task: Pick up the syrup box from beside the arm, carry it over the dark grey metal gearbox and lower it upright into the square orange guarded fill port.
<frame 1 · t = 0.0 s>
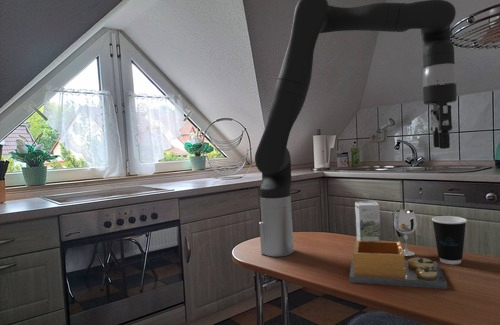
hand: (441, 147, 91), 29 cm above the table, fingers open, 8 cm apart
dixie cup: (450, 261, 91), on the table
wineglass: (406, 254, 99), on the table
syrup box: (368, 252, 103), on the table
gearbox: (394, 274, 85), on the table
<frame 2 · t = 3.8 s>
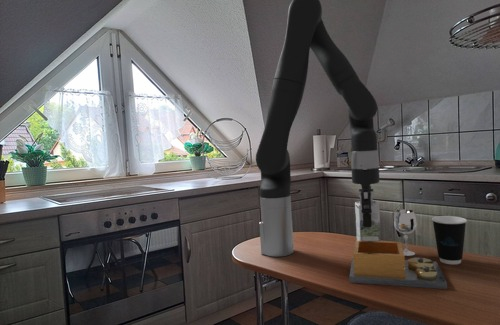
hand: (367, 223, 102), 8 cm above the table, fingers closed on syrup box, 6 cm apart
syrup box: (368, 252, 103), on the table, touching gripper
everything else where it was.
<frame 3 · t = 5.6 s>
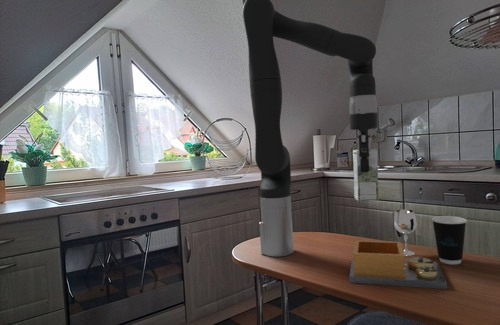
hand: (365, 171, 102), 24 cm above the table, fingers closed on syrup box, 6 cm apart
syrup box: (366, 200, 102), point 15 cm above the table, touching gripper
everything else where it was.
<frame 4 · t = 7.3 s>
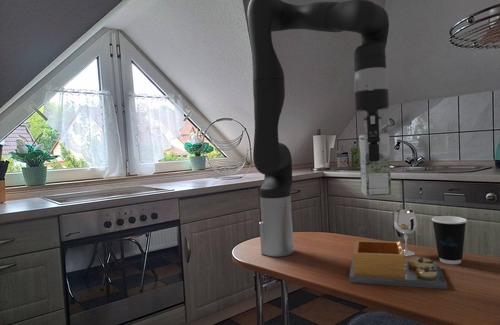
hand: (374, 160, 85), 28 cm above the table, fingers closed on syrup box, 6 cm apart
syrup box: (376, 194, 85), point 19 cm above the table, touching gripper
everything else where it was.
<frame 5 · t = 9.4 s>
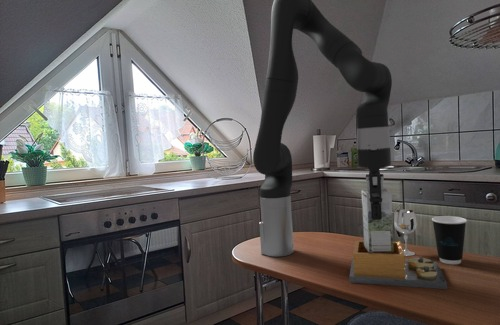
hand: (376, 216, 85), 14 cm above the table, fingers closed on syrup box, 6 cm apart
syrup box: (378, 250, 86), point 6 cm above the table, touching gripper
everything else where it was.
when the fingers open (11 cm above the table, at t = 11.0 s): syrup box drops 1 cm, resting on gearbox.
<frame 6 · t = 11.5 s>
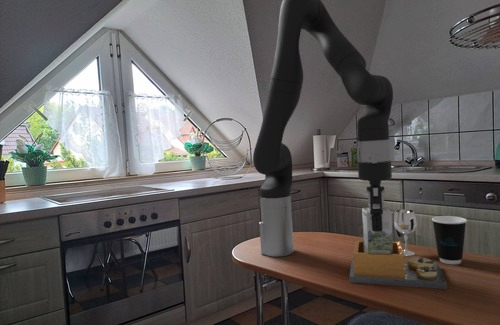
hand: (377, 226, 85), 12 cm above the table, fingers open, 8 cm apart
syrup box: (378, 268, 86), point 1 cm above the table, touching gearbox
everything else where it was.
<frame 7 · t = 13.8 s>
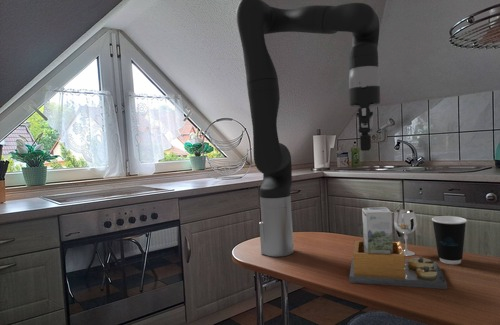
hand: (366, 149, 92), 30 cm above the table, fingers open, 8 cm apart
nothing on the table moved.
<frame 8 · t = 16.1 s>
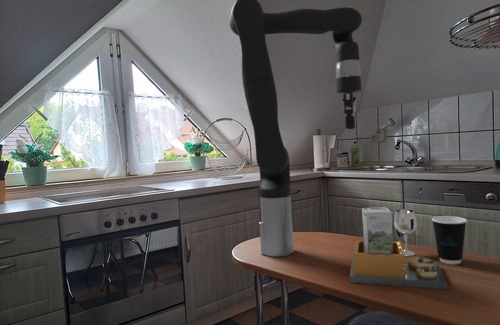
hand: (350, 128, 112), 36 cm above the table, fingers open, 8 cm apart
nothing on the table moved.
at the end: syrup box 0.2 cm from the target spot on the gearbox, point 1.3 cm above the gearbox's base; syrup box tilted 0°; the gripper is holding nothing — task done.
